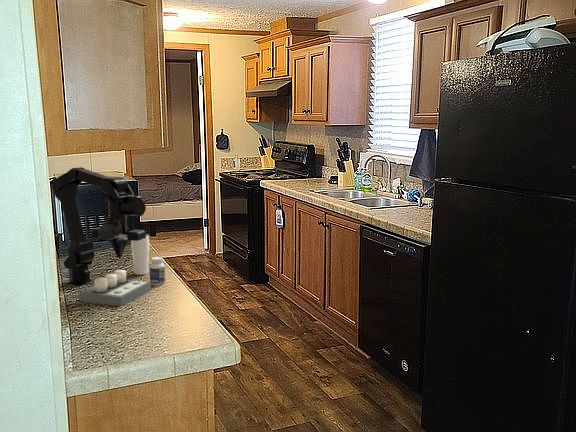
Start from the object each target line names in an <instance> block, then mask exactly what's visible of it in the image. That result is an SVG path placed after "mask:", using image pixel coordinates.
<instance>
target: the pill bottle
mask: <svg viewBox="0 0 576 432" xmlns="http://www.w3.org/2000/svg"><path fill="white" fill-rule="evenodd" d="M150 261H151V263H150V264H149V282H151V286H162V285H163V286H164V284H166V283H165V282H166V279H165V278H166V277H165V273H166V272H165V270H166V269H165V267H166V266H165V263H163V257H160V256H154V257H151V260H150Z"/></svg>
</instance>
